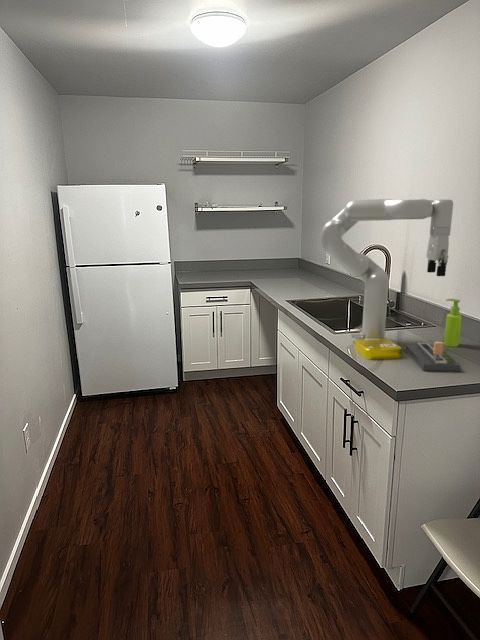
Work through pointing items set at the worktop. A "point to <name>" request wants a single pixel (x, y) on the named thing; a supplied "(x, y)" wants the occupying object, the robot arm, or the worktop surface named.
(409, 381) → the worktop surface
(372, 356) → the element tile
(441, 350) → the fader knob
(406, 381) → the worktop surface
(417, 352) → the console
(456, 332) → the soap dispenser
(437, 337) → the worktop surface
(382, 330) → the robot arm
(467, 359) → the worktop surface
